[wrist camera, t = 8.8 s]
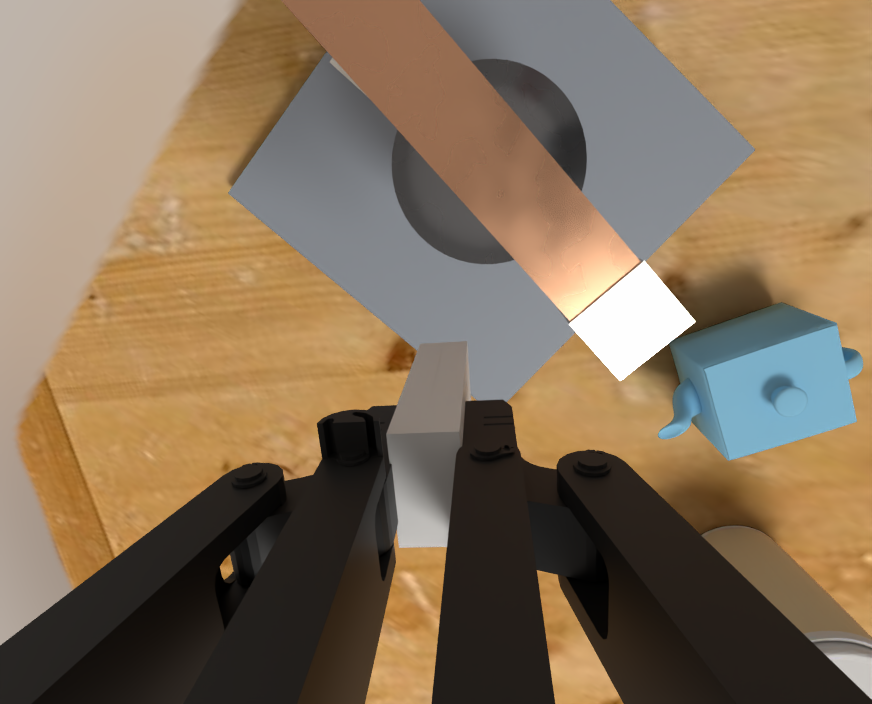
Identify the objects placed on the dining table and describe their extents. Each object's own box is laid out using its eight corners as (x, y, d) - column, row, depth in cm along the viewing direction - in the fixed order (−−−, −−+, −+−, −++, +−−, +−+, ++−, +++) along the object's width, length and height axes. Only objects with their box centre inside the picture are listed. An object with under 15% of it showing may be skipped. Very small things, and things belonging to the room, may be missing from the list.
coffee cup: (639, 561, 41) (705, 707, 30) (747, 491, 39) (863, 618, 28) (711, 638, 43) (799, 804, 32) (818, 575, 41) (956, 728, 29)
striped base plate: (466, -133, 29) (465, -254, 21) (742, 151, 33) (834, 140, 24) (237, 192, 35) (168, 195, 27) (493, 406, 38) (500, 465, 30)
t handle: (286, 81, 25) (217, 41, 18) (413, -66, 23) (389, -172, 16) (546, 361, 28) (572, 418, 21) (676, 254, 26) (750, 278, 19)
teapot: (638, 432, 38) (677, 488, 31) (613, 354, 37) (648, 395, 30) (816, 374, 36) (901, 421, 29) (797, 290, 35) (882, 318, 28)
